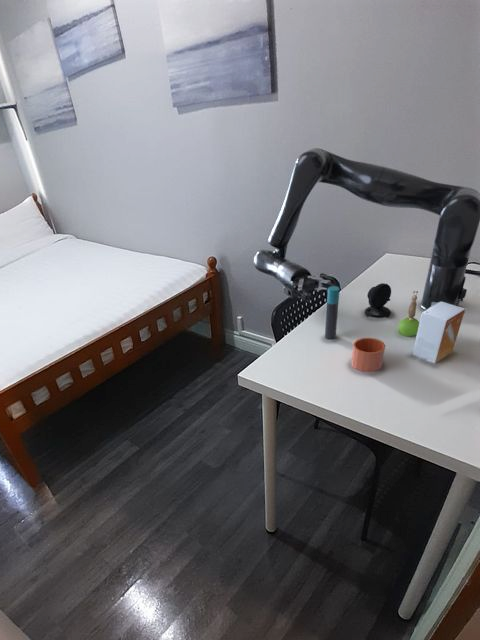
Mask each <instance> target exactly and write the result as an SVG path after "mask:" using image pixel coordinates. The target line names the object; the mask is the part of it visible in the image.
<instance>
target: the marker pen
mask: <svg viewBox="0 0 480 640" xmlns="http://www.w3.org/2000/svg"><path fill="white" fill-rule="evenodd" d="M340 289H341V288H340V287H339V286H337V285H335V286H331V287H329V288H328V291H327V299H326V311H325V312H326V314H325V326H324V327H325V329H324V339H326V340H329V341H331V340H335V339H336V337H337V325H338V313H339V302H340Z"/></svg>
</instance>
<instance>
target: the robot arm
mask: <svg viewBox="0 0 480 640" xmlns="http://www.w3.org/2000/svg"><path fill="white" fill-rule="evenodd" d="M318 183H320V184H321V183H322V184H328V185H332V186H336V187H340V188H342V189H345V190H346V191H348V192H349V193H351V194H352V195H354V196H356V197H357V198H360V199H361V200H364V201H366V202H368V203H373V204H375V205H379V206H383V207H388V208H398V209H419V210H422V211H426V212H429V213H432V214H436V215H438V216H439V218H438V223H437V227H436V232H435V237H434V242H433V248H432V252H431V257H430V262H429V267H428V269H427V276H426V280H425V284H424V289H423V294H422V297H421V302H420V308H421V309H422V310H423V311H425V310H427V309H429V308H430V307H432V306H434V305H435V304H437V303H439V302H445V303H448V304H451V305H455V306H458V307H459V304H460V302H463V301H464V299H465V298H466V294H467V292H468V289H467V288H464V286H465V283H466V279H467V278H466V276H465V274H466V271H467V267H468V263H469V259H470V256H471V251H472V248H473V245H474V243H475V240H476V236H477V233H478V229H479V225H480V191H478V190H477V189H475V188H472V187H469V186H462V185H454V184H449V183H441V182H437V181H433V180H429V179H426V178H424V177H421V176H419V175H418V176H417V175H415V174H412V173H408V172H405V171H402V170H398V169H395V168H392V167H387V166H383V165H379V164H375V163H369V162H363V161H356V160H352V159H348V158H345V157H343V156H340V155H339V154H338V155H337V154H335V153H332V152H330V151H328V150H325V149H323V148H319V147H313V148H310V149H308V150H306V151H304V152H302V153H301V154H300V155H298V157H297V159H296V161H295V162H294V166H293V168H292V173H291V177H290V181H289V184H288V188H287V191H286V195H285V197H284V200H283V203H282V205H281V206H280V210H279V212H278V214H277V216H276V218H275V220H274V223H273V225H272V228H271V230H270V231H269V234H268V237H267V243H268V244H269V245H270V246H271V247H272V248H274V250H271V249H260V250H258V251H257V252H256V253H255V254H254V255H253V266H254V267H255V269H256V270H257V271H259V272H260V273H263V274H264V275H265V274H266V275H268V276H271V277H273V278H275V279H276V280H277V281H278V282H279V283H281V284H282V285H283V293H284V294H285V295H286V296H288V297H289V298H290V299H292V300H293V299H296V297H297V298H298V299H301V300H303V301H305V302H307V303H308V302H310V301H311V294H310V293H309V291H312V290H314V291H321V290H326V291H327V292H328V288H329V287H331V286H336V285H335V278H334V277H332V276H330V275H328V274H326V273H323V272H322V273H320V274H319V276H315V275H312V273H311V272H310V271H309V270H308V269H307V268H305V267H303V266H302V265H300V264H298V263H296V262H294V261H291V260H290V259H288V258H286V255H287V252H288V251H287V250H288V247H289V243H290V241H291V239H292V237H293V235H294V233H295V230H296V229H297V226H298V223H299V220H300V216H301V213H302V210H303V207H304V205H305V203H306V201H307V199H308V197H309V195H310V194H311V192H312V191H313V189H314V187H315V186H316V185H317V184H318ZM317 285H318V286H317Z"/></svg>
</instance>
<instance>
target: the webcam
mask: <svg viewBox="0 0 480 640" xmlns="http://www.w3.org/2000/svg"><path fill="white" fill-rule="evenodd" d="M391 295H392V287H391V286H390V285H389V284H388V283H385V282H384V283H383V282H382V283H379V284H377V285H375V286H372V287H370V289H369V290H368V292H367V299H368V305H369V306H368V307H366V308H365V309H364V316H366V317H367V318H374V319H383V318H389V317H390V316H391V314H392V311H391V310H390V308H388V307H386V306H385V305H386V304H387V303H388V302H390V301H391ZM372 311H373V312H375V313H377V314H374V313H372Z"/></svg>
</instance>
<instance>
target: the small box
mask: <svg viewBox="0 0 480 640" xmlns="http://www.w3.org/2000/svg"><path fill="white" fill-rule="evenodd" d="M465 311H466V307H465V308H464V307H461V306H459V305H458V306H455V305H451V304H448V303H445V302H439V303H437V304H435V305H434V306H432V307H430V308H429V309H427V310H423V311H422V312H421V315H420V319H419V327H418V332H417V334H416V335H415V336H416V337H415V340H414V341H415V342H414V346H413V350H412V355H413V356H416V357H418V358H421V359H422V360H425V361H428V362H430V363H433V364H437V363H438V362H439V361H441V360H442V359H444V358H445V357H447V356H448V355H451V354H453V352H454V348H455V345H456V341H457V338H458V335H459V331H460V329H461V325H462V321H463V318H464V315H465Z"/></svg>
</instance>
